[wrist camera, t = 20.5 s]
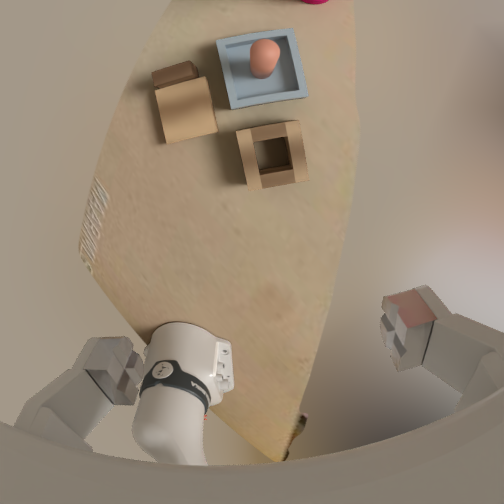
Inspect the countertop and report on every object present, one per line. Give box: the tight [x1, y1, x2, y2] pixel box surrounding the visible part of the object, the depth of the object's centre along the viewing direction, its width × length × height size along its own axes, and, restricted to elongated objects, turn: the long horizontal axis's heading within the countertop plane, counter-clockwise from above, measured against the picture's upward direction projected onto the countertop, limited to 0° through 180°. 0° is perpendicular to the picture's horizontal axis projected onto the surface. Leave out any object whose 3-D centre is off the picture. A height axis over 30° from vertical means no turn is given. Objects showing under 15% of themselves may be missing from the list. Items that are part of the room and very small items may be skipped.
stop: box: [152, 61, 199, 88], centre depth 31 cm, size 2×5×5 cm, turn 101°
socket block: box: [236, 120, 309, 191], centre depth 37 cm, size 8×8×4 cm
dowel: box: [250, 39, 280, 79], centre depth 28 cm, size 3×3×10 cm
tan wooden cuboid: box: [155, 76, 219, 144], centre depth 35 cm, size 8×7×2 cm
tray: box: [216, 28, 309, 110], centre depth 32 cm, size 10×10×3 cm
